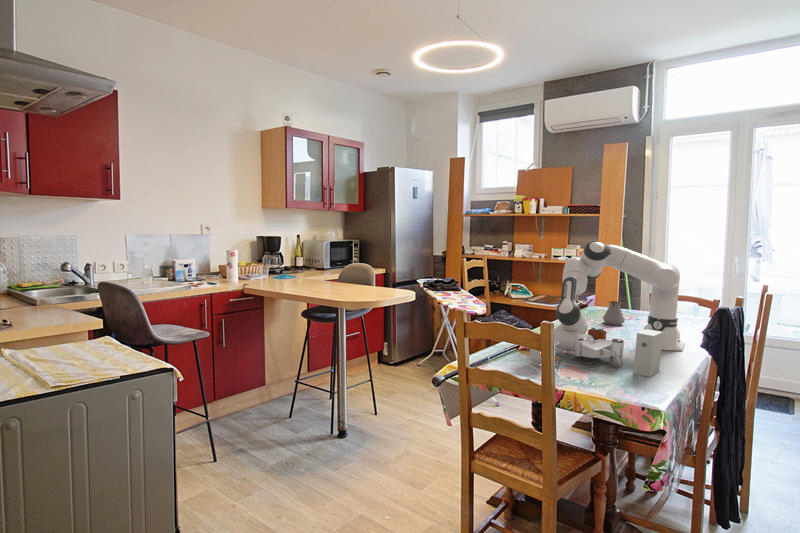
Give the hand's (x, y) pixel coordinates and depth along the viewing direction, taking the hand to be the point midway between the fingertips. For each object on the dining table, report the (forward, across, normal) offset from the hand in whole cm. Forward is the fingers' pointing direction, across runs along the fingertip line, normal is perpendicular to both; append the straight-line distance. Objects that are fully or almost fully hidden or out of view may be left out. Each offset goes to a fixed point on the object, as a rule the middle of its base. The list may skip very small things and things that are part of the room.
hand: (619, 352), depth 186 cm
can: (-1, 0, -6) cm, 6 cm away
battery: (-17, -18, -6) cm, 25 cm away
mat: (-13, +1, -6) cm, 14 cm away
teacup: (-22, +21, -6) cm, 31 cm away
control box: (+10, -2, -6) cm, 12 cm away
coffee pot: (-33, -76, -6) cm, 83 cm away
